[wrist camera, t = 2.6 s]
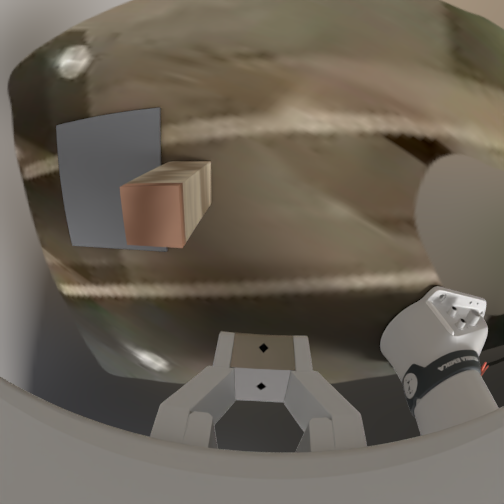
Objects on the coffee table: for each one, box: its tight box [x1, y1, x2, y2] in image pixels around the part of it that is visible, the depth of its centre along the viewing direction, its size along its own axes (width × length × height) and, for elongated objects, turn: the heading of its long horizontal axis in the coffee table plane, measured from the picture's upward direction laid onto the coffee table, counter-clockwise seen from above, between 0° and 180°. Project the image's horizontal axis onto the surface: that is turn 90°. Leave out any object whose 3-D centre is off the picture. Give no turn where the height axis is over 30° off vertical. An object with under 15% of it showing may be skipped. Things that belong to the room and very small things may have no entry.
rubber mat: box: [56, 108, 168, 252], centre depth 32 cm, size 16×18×1 cm
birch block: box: [120, 161, 211, 248], centre depth 26 cm, size 5×5×12 cm
